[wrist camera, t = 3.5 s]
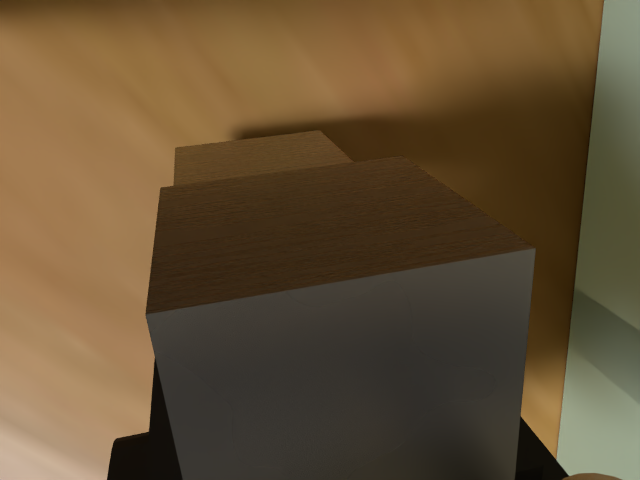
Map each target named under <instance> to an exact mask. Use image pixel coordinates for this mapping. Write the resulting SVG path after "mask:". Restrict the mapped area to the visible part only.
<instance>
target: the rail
mask: <svg viewBox="0 0 640 480" xmlns="http://www.w3.org/2000/svg"><path fill="white" fill-rule="evenodd" d="M557 462H558V463H559V464H560V465H561V466H562V468H563V469H564V470H565V471H566V473H567V474H568V475H569V476H572V475H575V474H578V473H599V474H604V475H609V476H614V477H617V478H619V479H622V480H640V0H604V8H603V17H602V27H601V37H600V46H599V56H598V65H597V75H596V85H595V94H594V104H593V114H592V123H591V133H590V142H589V152H588V162H587V171H586V181H585V191H584V200H583V210H582V219H581V229H580V239H579V248H578V258H577V268H576V277H575V287H574V296H573V306H572V316H571V325H570V335H569V345H568V354H567V364H566V373H565V383H564V393H563V402H562V412H561V422H560V431H559V441H558V450H557Z"/></svg>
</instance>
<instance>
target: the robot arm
mask: <svg viewBox="0 0 640 480" xmlns="http://www.w3.org/2000/svg"><path fill="white" fill-rule="evenodd" d="M107 480H183V478H182V474H181V469H180V465H179V460H178V456H177V452H176V447H175V443H174V438H173V434H172V429H171V425H170V421H169V416H168V412H167V407H166V403H165V398H164V394H163V390H162V385H161V381H160V376H159V372H158V368H157V363H156V359H155V362H154V375H153V388H152V401H151V414H150V427H149V432H146V433H141V434H136V435H131V436H126V437H122V438H117V439H116V440H115V441H114V443H113V447H112V451H111V458H110V464H109V471H108V477H107ZM515 480H622V479H619V478H617V477H614V476H609V475H604V474H599V473H578V474H575V475H572V476H569V475H568V474H567V473H566V471H565V470H564V469H563V468H562V466H561V465H560V464H559V463H558V462H557V460H556V459H555V458H554V457H553V455H552V454H551V453H550V452H549V451H548V449H547V448H546V447H545V446H544V444H543V443H542V442H541V441H540V440H539V438H538V437H537V436H536V435H535V433H534V432H533V431H532V430H531V428H530V427H529V426H528V425H527V424H526V422H525V421H524V420H523V419H522V417H521V416H520V426H519V437H518V448H517V459H516V470H515Z"/></svg>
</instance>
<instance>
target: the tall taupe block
mask: <svg viewBox="0 0 640 480" xmlns="http://www.w3.org/2000/svg"><path fill="white" fill-rule="evenodd" d="M535 251H536V248H535V247H533V246H532V245H530V244H529V243H527V242H526V241H525V240H523V239H522V238H520V237H519V236H517V235H516V234H514V233H513V232H512V231H510V230H509V229H507V228H506V227H504V226H503V225H502V224H500V223H499V222H497V221H496V220H494V219H493V218H491V217H490V216H489V215H487V214H486V213H484V212H483V211H481V210H480V209H478V208H477V207H476V206H474V205H473V204H471V203H470V202H468V201H467V200H465V199H464V198H463V197H461V196H460V195H458V194H457V193H455V192H454V191H453V190H451V189H450V188H448V187H447V186H445V185H444V184H442V183H441V182H440V181H438V180H437V179H435V178H434V177H432V176H431V175H429V174H428V173H427V172H425V171H424V170H422V169H421V168H419V167H418V166H417V165H415V164H414V163H412V162H411V161H409V160H408V159H406V158H405V157H404V156H396V157H388V158H381V159H373V160H366V161H358V162H353V161H352V160H351V159H350V158H349V157H348V156H347V155H346V154H345V153H344V152H343V151H342V150H340V149H339V148H338V147H337V146H336V145H335V144H334V143H333V142H332V141H331V140H330V139H329V138H328V137H326V136H325V135H324V134H323V133H322V132H321V131H320V130H318V131H309V132H301V133H293V134H285V135H276V136H268V137H260V138H252V139H243V140H235V141H227V142H219V143H210V144H202V145H194V146H185V147H177V148H175V167H174V186H170V187H162V188H160V196H159V204H158V213H157V221H156V230H155V238H154V247H153V255H152V264H151V272H150V281H149V289H148V298H147V306H146V319H147V323H148V328H149V332H150V337H151V341H152V345H153V350H154V354H155V359H156V363H157V368H158V372H159V376H160V381H161V385H162V390H163V394H164V398H165V403H166V407H167V412H168V416H169V421H170V425H171V429H172V434H173V438H174V443H175V447H176V452H177V456H178V460H179V465H180V469H181V474H182V478H183V480H515V470H516V459H517V448H518V437H519V426H520V415H521V404H522V393H523V382H524V371H525V360H526V349H527V338H528V328H529V317H530V306H531V295H532V284H533V273H534V262H535Z"/></svg>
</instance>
